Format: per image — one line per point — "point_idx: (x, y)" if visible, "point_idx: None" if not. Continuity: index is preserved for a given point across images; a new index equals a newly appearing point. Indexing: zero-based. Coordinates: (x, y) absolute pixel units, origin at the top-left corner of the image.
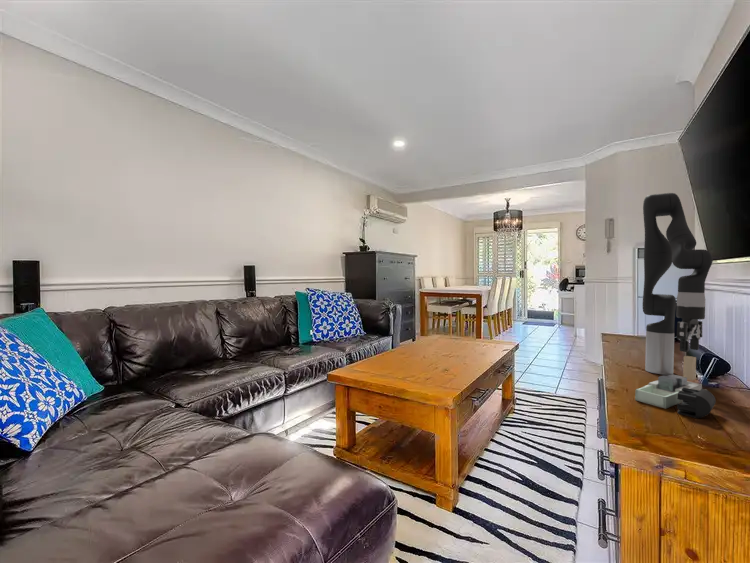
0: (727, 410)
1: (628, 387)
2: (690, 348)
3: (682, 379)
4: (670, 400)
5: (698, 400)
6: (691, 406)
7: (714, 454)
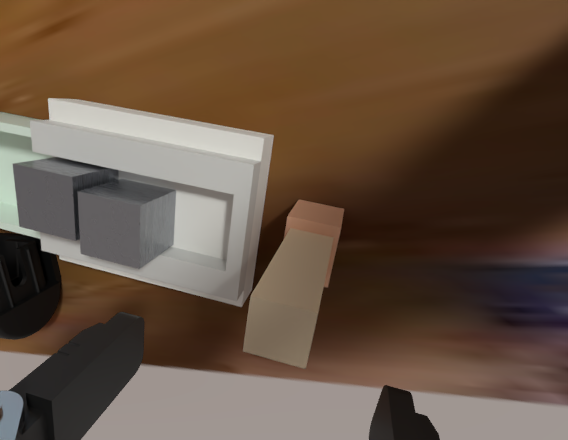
0: None
1: (107, 15)
2: (384, 387)
3: (91, 253)
4: None
5: None
6: None
7: None
